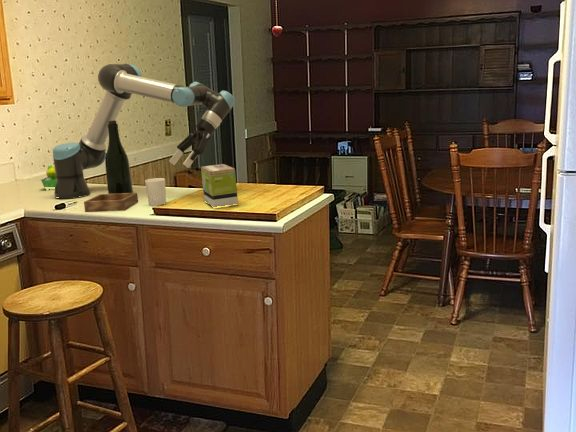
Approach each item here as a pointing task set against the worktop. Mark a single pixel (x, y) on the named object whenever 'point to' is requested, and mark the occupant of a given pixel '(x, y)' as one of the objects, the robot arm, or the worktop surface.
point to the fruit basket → (50, 177)
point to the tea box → (219, 185)
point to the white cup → (156, 191)
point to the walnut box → (111, 202)
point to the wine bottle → (117, 163)
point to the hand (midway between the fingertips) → (178, 164)
